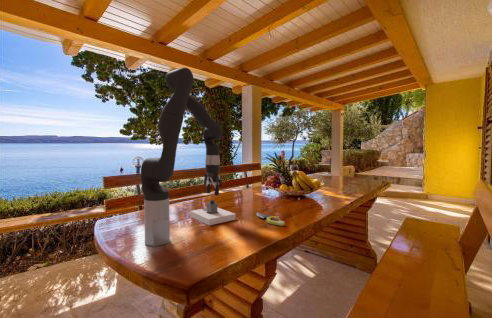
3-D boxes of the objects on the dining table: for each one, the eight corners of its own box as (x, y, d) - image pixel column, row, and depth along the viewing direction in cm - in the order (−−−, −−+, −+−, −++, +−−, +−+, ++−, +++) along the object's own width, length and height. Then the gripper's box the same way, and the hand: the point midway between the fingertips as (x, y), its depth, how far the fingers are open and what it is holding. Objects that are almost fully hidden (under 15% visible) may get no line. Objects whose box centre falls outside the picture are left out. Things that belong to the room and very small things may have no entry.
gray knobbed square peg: (217, 218, 126) (217, 200, 126) (210, 219, 124) (210, 201, 124) (213, 216, 130) (213, 199, 129) (207, 217, 127) (207, 200, 127)
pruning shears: (249, 215, 133) (276, 228, 111) (249, 210, 133) (276, 222, 111) (261, 213, 137) (289, 225, 115) (261, 209, 136) (289, 220, 115)
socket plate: (235, 219, 124) (235, 212, 124) (208, 225, 114) (208, 218, 114) (215, 211, 139) (215, 205, 139) (190, 216, 129) (190, 209, 129)
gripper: (200, 163, 129) (199, 193, 129) (213, 164, 118) (213, 196, 118) (212, 163, 133) (211, 191, 134) (226, 164, 122) (225, 195, 123)
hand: (212, 194), depth 126 cm, fingers open, 8 cm apart
